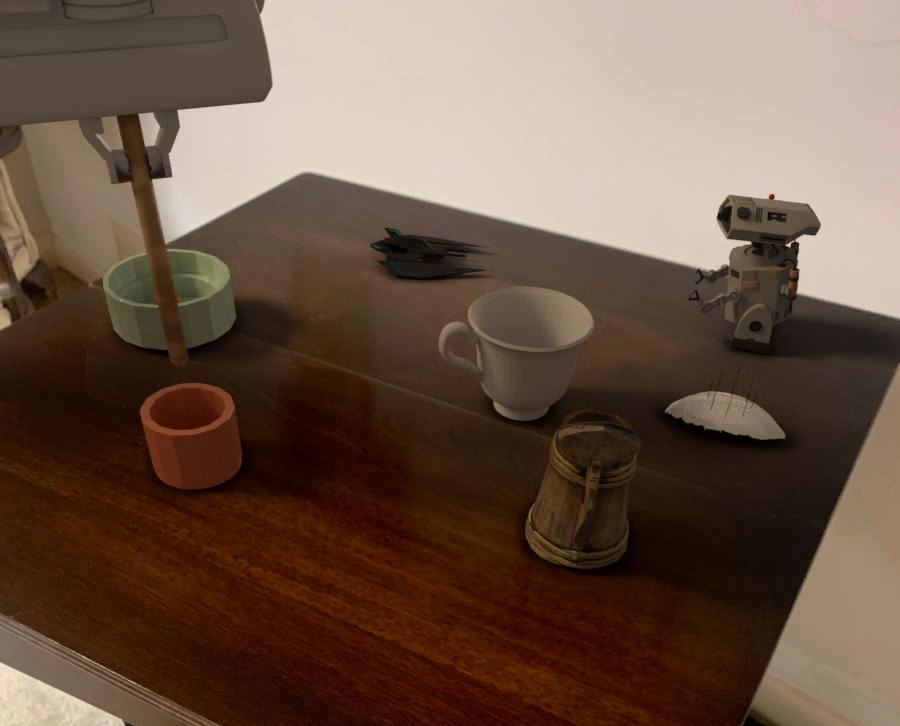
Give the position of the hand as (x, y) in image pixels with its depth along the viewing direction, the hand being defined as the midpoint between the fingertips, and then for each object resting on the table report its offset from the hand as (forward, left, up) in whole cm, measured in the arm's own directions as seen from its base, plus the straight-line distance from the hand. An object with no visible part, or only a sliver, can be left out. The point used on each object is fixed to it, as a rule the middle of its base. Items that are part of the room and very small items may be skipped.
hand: (140, 178), depth 64 cm
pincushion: (+50, +14, -26) cm, 58 cm away
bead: (-11, +25, -24) cm, 36 cm away
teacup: (+28, +14, -26) cm, 41 cm away
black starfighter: (+16, +45, -26) cm, 54 cm away
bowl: (-10, +24, -26) cm, 36 cm away
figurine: (+53, +34, -26) cm, 68 cm away
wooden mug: (+35, -7, -26) cm, 44 cm away
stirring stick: (+1, -1, -14) cm, 15 cm away
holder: (0, 0, -26) cm, 26 cm away
